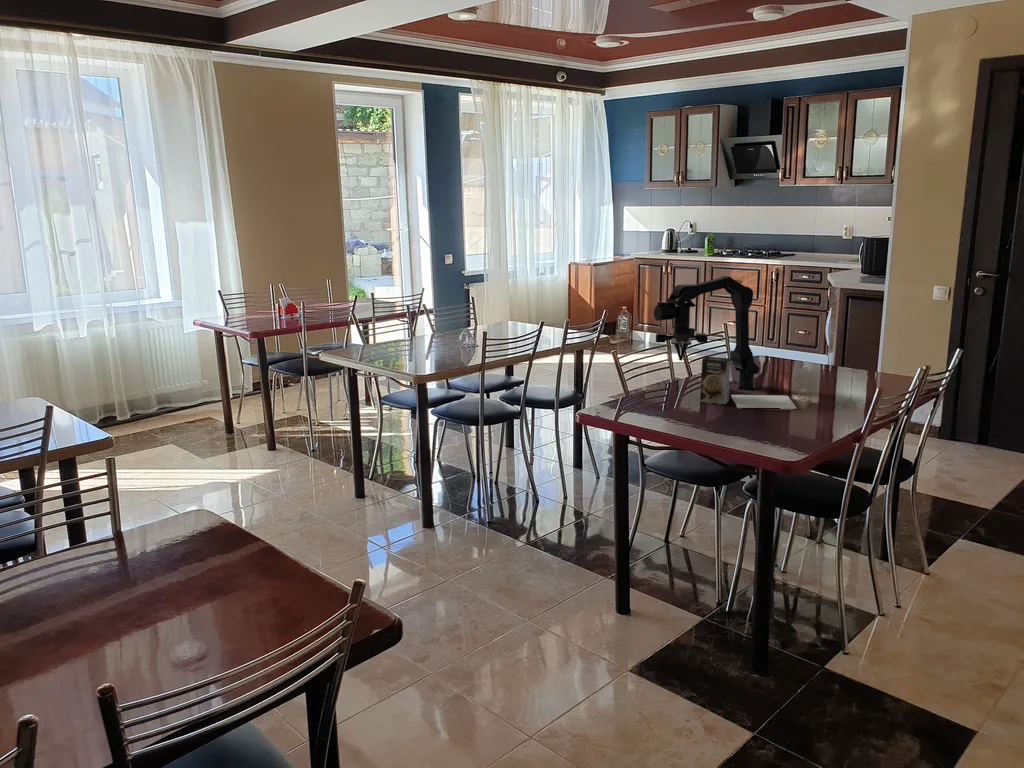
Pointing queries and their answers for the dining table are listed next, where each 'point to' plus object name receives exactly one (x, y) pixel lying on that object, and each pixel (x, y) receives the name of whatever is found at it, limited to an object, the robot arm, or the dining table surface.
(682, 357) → the robot arm
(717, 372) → the cookie box
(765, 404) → the mat
